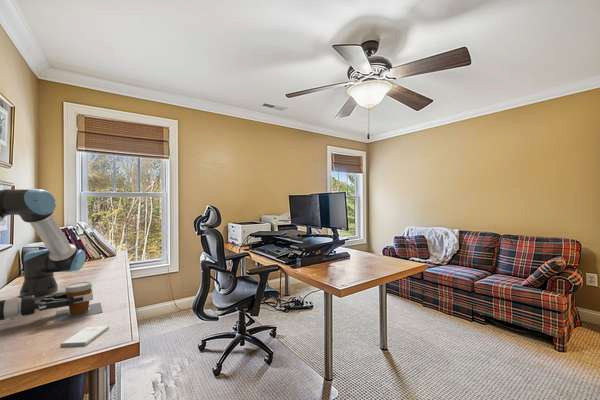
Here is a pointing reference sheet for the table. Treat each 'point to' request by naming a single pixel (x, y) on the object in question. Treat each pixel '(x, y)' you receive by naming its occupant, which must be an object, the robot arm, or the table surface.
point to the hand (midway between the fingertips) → (92, 293)
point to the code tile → (66, 315)
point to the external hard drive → (85, 336)
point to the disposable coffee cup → (78, 290)
